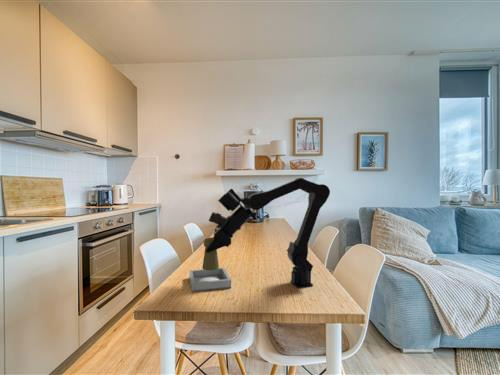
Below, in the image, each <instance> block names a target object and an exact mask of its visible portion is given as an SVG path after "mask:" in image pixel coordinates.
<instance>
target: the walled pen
mask: <svg viewBox="0 0 500 375" xmlns="http://www.w3.org/2000/svg"><path fill="white" fill-rule="evenodd" d="M189 282H190V289H191V293H195V292H196V293H197V292H205V291H215V290H216V291H217V290H225V289H231V288H232V278H231V277H230V276H229V274H228V271H226V268H225V267H219V268H218V269H216V270H204V269H203V268H202V269H191V270H189Z"/></svg>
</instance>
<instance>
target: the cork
mask: <svg viewBox="0 0 500 375" xmlns="http://www.w3.org/2000/svg"><path fill="white" fill-rule="evenodd" d="M213 240H214V238H213V237H207V238H205V239H204V241H203V246H204V253H203V254H204V255H203V259H202V260H203V262H202V267H201V268H202V269H204V270H216V269H218V268H220V265H219V264H220V263H219V256H218V249H216V250H214V251H211V252H209V253H207V252H206V249H207V248H208V247H209V245H210V244H211V242H212V241H213Z"/></svg>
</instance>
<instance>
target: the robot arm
mask: <svg viewBox="0 0 500 375" xmlns="http://www.w3.org/2000/svg"><path fill="white" fill-rule="evenodd" d="M298 190H301V191H303V192H305V193H307V194H308V196H307V199H308V201H307V202H308V205H307V209H306V211H305V214H304V217H303V220H302V223H301V226H300V229H299V231H298V234H297V236H296V239H295V240H294V241H293V242H292V241H289V245H288V248H287V250H286V252H287V257H288V259H289V261H290V262H291V263H292V265H293V266H292V270H291V273H290V274H291V277H290V278H291V279H290V282H291V283H292V284H293V285H294V286H295V287H297V288H305V287H312V286H313V287H314V284H313V283H312V270H313V267H314V266H313V264H312V263H311V262H310V261H309V260H308V255H309V241H310V239H311V236H312V233H313V230H314V227H315V224H316V221H317V219H318V215H319V213H320V210H321V208H322V207H323V206H324V205H325V203H326V202H327V200H328V199H329V197H330V195H331V194H330V193H331V190H330V188H329V186H327V185H326V184H323V183H321V184H318V183H316V182H313V181H310V180H308V179H305V178H303V177H297V178H295V179H294V180H292V181H291V180H290V181H289V182H287V183H284V184H281V185H280V186H277V187H275V188H273V189H270V190H266V191H261V192H257V193H252V194H250V195H249V196H248V197H242V198H241V197H240V196H239V195H238V194H237V193H236V192H235V190H234V189H233V188H230V189H229V190H228V191H227V192H226V193H224V194H223V195H222V196H221V197H220V198H219V199H218V200H217V201H218V203H220V205H222V206H223V207H224V208H225V209H226V211H228V212H230V211H231V212H233V213H232V214H231V215H228V216H227V217H225V216H223V215H222V213H219V212H214V211H212V212H211V215H210V216H209V219H208V221H209V222H210V223H214V224H216V226H215V227H216V228H215V229H214V233H213V237H212V238H214V240H213V241H212V242H211V244H210V245H209V247H208V248H207V249H206V252H207V253H209V252H211V251H214V250H216V249H217V250H219V249H220V248H221V249H222V248H223V247H226V248H229V247H230V246H231V244H232V238H233V236H234V235H235V234H236V233H237V232H238V231H239V230H241V229H242V226H243V225H245V224H246V223H247V222H248V221H249V220H250V219H251V218H252V219H253V220H254V221H256V220H257V212H256V211H259V210H261V209H262V208H264V207H266V206H267V205H269V203H271V202H272V201H275V200H277V199H279V198H281V197H284V196H286V195H289V194H290V193H294V192H295V191H298ZM241 203H242V204H243V205H242V204H241ZM244 206H248V207H244ZM249 207H250V208H251V209H252V210H255V211H252V210H251V209H250V208H249Z"/></svg>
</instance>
